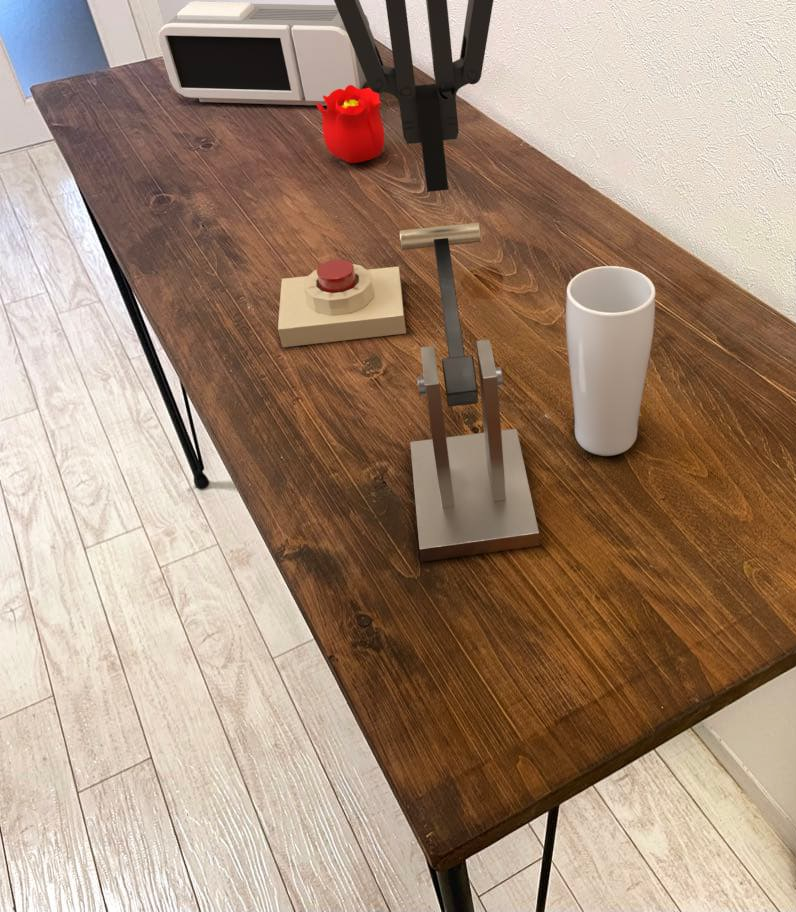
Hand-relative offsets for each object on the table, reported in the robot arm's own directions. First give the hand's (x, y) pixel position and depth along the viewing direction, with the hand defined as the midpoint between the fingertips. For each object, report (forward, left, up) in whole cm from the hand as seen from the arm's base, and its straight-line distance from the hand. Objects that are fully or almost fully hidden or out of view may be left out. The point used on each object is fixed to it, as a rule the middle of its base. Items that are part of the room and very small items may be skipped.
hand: (436, 181), depth 67 cm
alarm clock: (-19, +75, -22) cm, 81 cm away
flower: (-8, +52, -22) cm, 57 cm away
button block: (-10, +17, -22) cm, 30 cm away
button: (-10, +17, -18) cm, 27 cm away
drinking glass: (+12, -6, -22) cm, 26 cm away
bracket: (0, -11, -22) cm, 24 cm away
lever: (0, -5, -8) cm, 10 cm away
